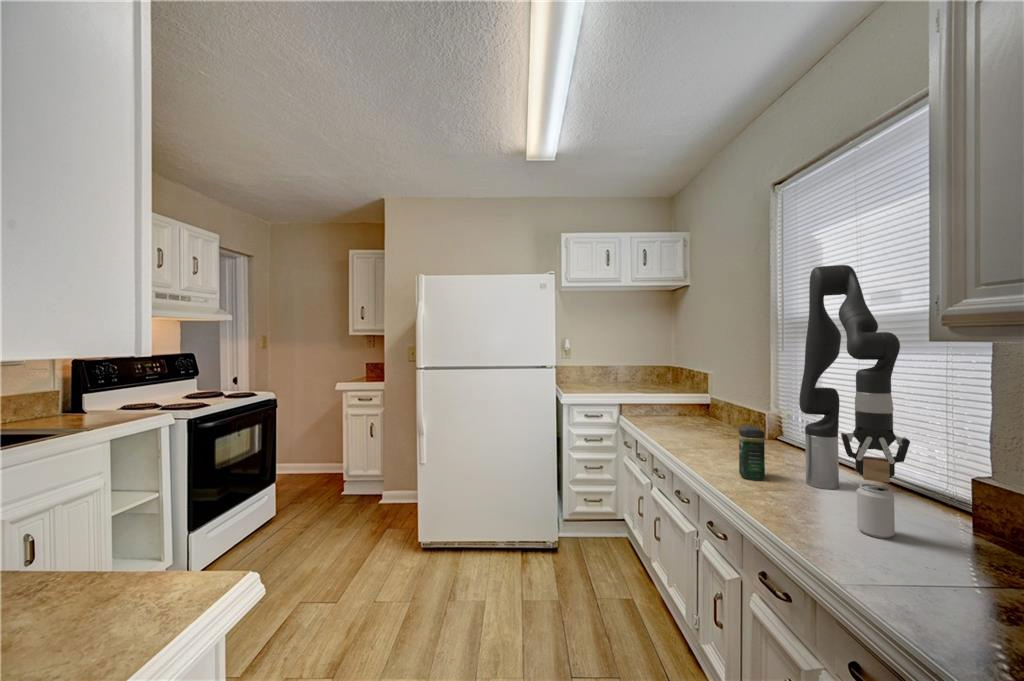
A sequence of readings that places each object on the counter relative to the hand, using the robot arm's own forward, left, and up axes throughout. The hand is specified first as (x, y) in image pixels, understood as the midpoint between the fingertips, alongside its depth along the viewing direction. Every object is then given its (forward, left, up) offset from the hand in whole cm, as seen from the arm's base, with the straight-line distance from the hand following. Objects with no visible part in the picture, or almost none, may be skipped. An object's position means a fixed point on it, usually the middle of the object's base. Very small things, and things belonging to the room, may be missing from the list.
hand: (874, 475), depth 112 cm
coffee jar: (-37, -29, -15) cm, 49 cm away
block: (0, 0, -1) cm, 1 cm away
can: (0, 0, -15) cm, 15 cm away
